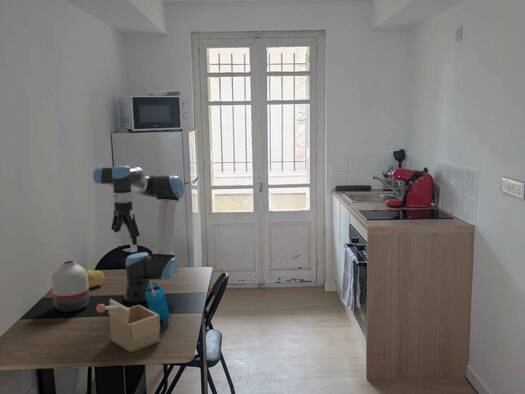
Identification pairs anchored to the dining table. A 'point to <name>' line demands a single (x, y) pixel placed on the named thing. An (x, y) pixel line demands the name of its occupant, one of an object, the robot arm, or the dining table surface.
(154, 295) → the blue rounded piece
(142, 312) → the carton
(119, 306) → the flap
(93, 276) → the potato
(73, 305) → the vase
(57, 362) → the dining table surface
